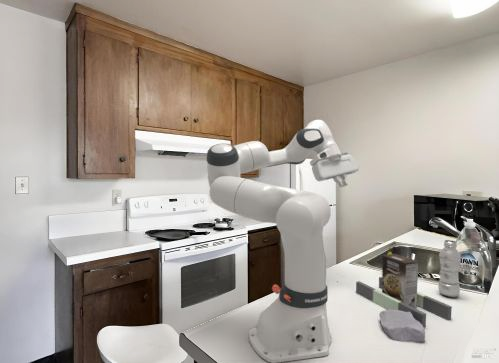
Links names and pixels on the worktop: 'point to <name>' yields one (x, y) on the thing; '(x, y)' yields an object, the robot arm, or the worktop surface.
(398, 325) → the stone block
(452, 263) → the plastic bottle
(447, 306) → the track
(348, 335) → the worktop surface
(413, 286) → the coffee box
